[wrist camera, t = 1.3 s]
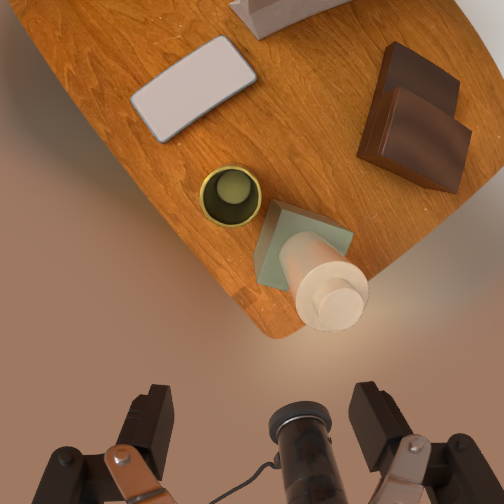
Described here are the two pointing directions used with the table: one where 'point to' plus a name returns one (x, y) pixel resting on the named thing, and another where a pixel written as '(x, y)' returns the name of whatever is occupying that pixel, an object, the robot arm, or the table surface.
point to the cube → (281, 229)
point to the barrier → (278, 13)
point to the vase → (230, 195)
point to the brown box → (416, 122)
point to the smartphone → (192, 88)
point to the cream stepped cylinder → (323, 282)
